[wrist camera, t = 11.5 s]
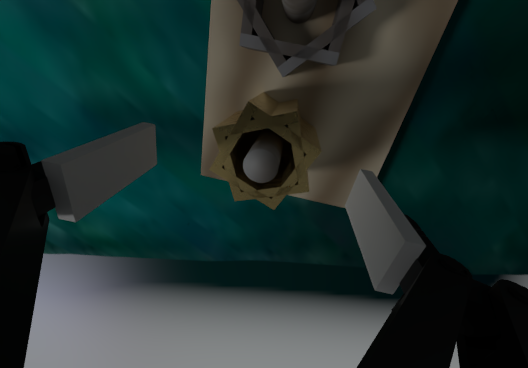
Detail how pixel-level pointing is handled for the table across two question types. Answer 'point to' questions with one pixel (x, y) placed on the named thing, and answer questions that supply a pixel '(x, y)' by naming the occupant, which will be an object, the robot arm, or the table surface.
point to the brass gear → (239, 143)
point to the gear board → (320, 78)
